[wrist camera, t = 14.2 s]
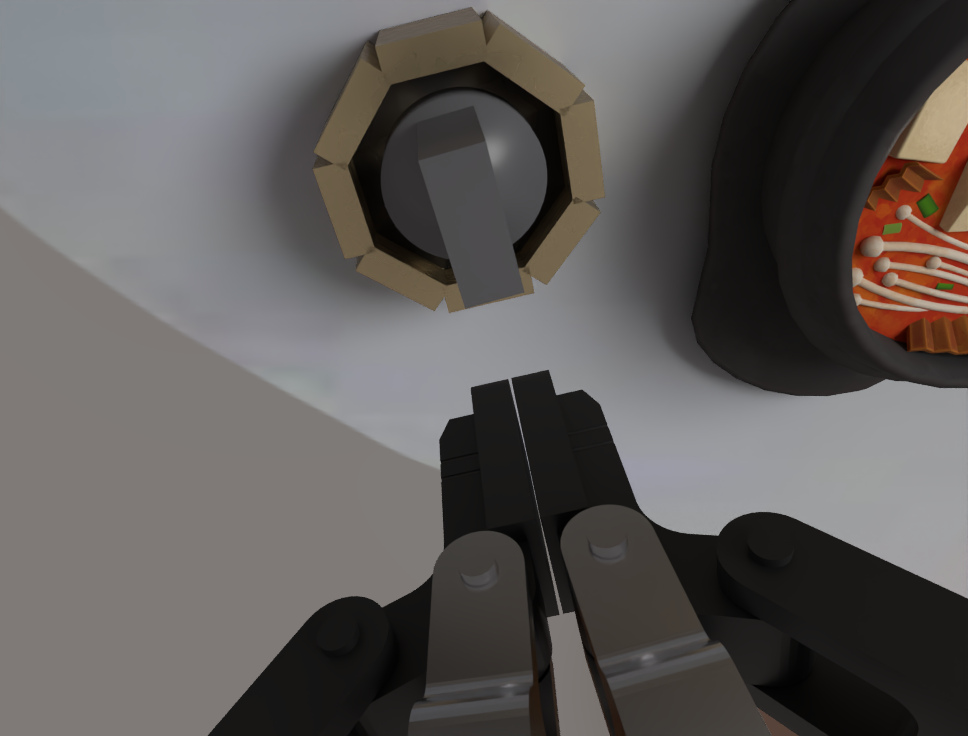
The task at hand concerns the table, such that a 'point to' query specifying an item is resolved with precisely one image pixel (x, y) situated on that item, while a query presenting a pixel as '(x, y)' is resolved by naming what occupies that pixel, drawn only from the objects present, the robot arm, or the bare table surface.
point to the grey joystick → (465, 185)
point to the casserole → (843, 203)
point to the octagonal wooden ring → (431, 67)
